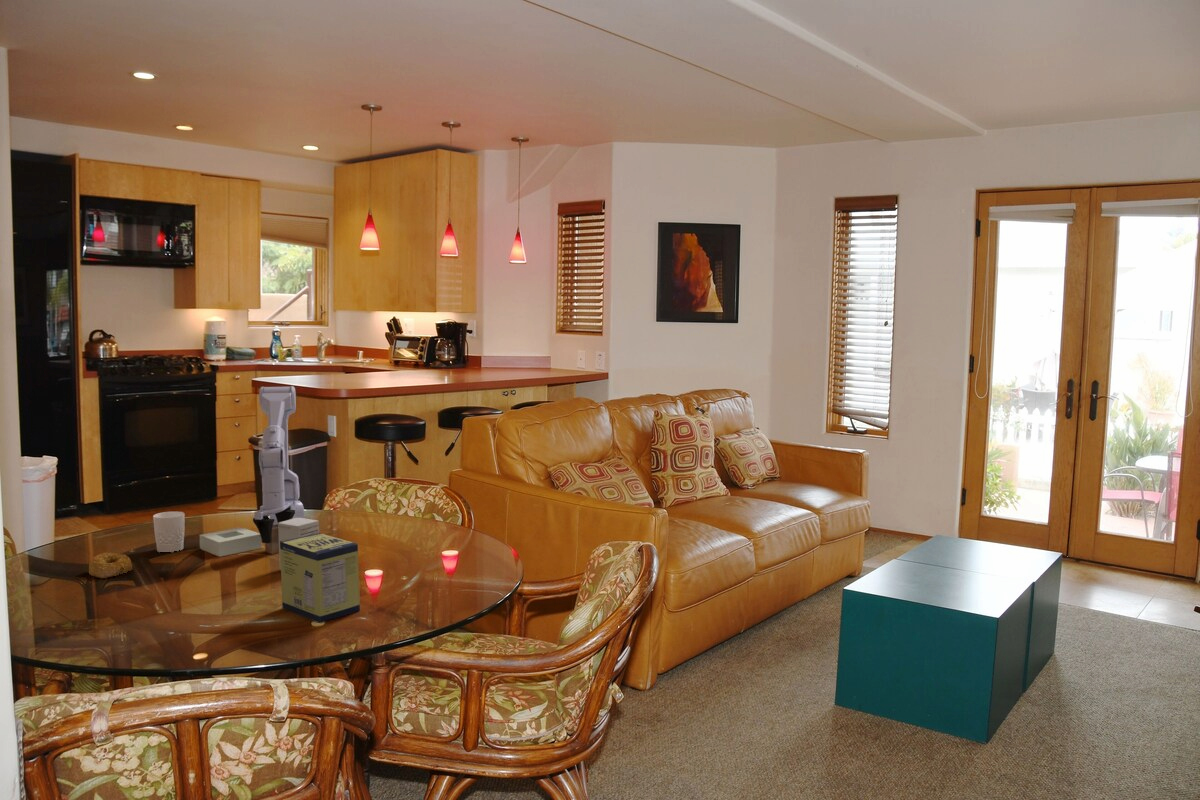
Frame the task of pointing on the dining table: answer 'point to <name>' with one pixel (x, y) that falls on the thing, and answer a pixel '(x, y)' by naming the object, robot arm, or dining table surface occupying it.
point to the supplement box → (296, 530)
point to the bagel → (109, 565)
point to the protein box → (320, 577)
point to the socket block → (230, 541)
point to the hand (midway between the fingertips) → (275, 539)
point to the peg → (273, 541)
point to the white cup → (169, 531)
